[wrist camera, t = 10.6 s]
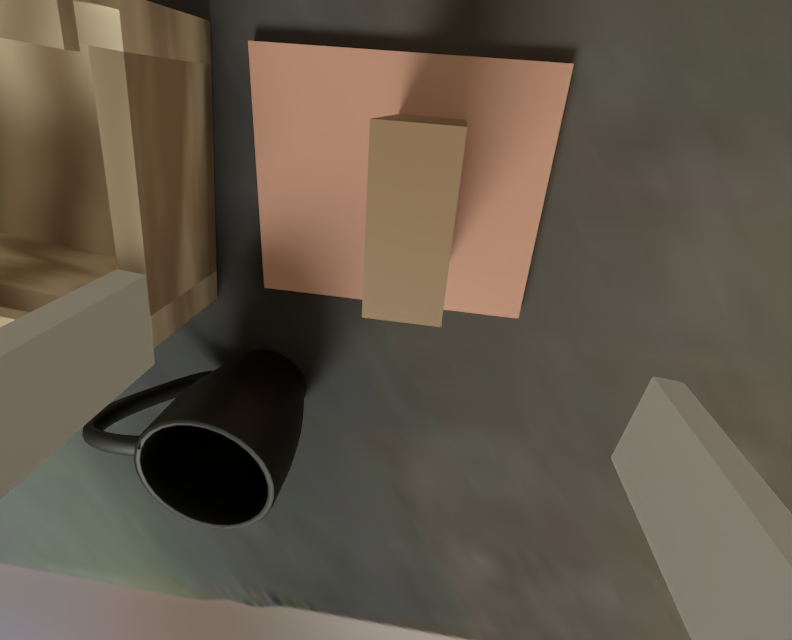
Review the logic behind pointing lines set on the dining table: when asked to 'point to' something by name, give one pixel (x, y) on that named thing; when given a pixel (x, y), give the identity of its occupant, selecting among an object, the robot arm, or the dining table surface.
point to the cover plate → (338, 162)
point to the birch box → (106, 154)
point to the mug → (214, 439)
